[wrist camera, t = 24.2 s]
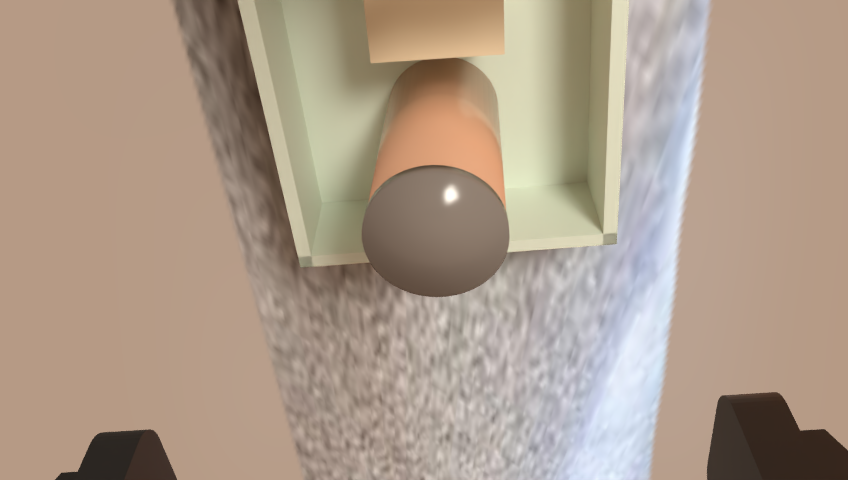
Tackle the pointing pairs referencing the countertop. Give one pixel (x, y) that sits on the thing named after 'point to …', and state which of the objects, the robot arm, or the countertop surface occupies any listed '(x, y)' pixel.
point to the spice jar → (438, 182)
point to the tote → (517, 102)
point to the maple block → (433, 29)
